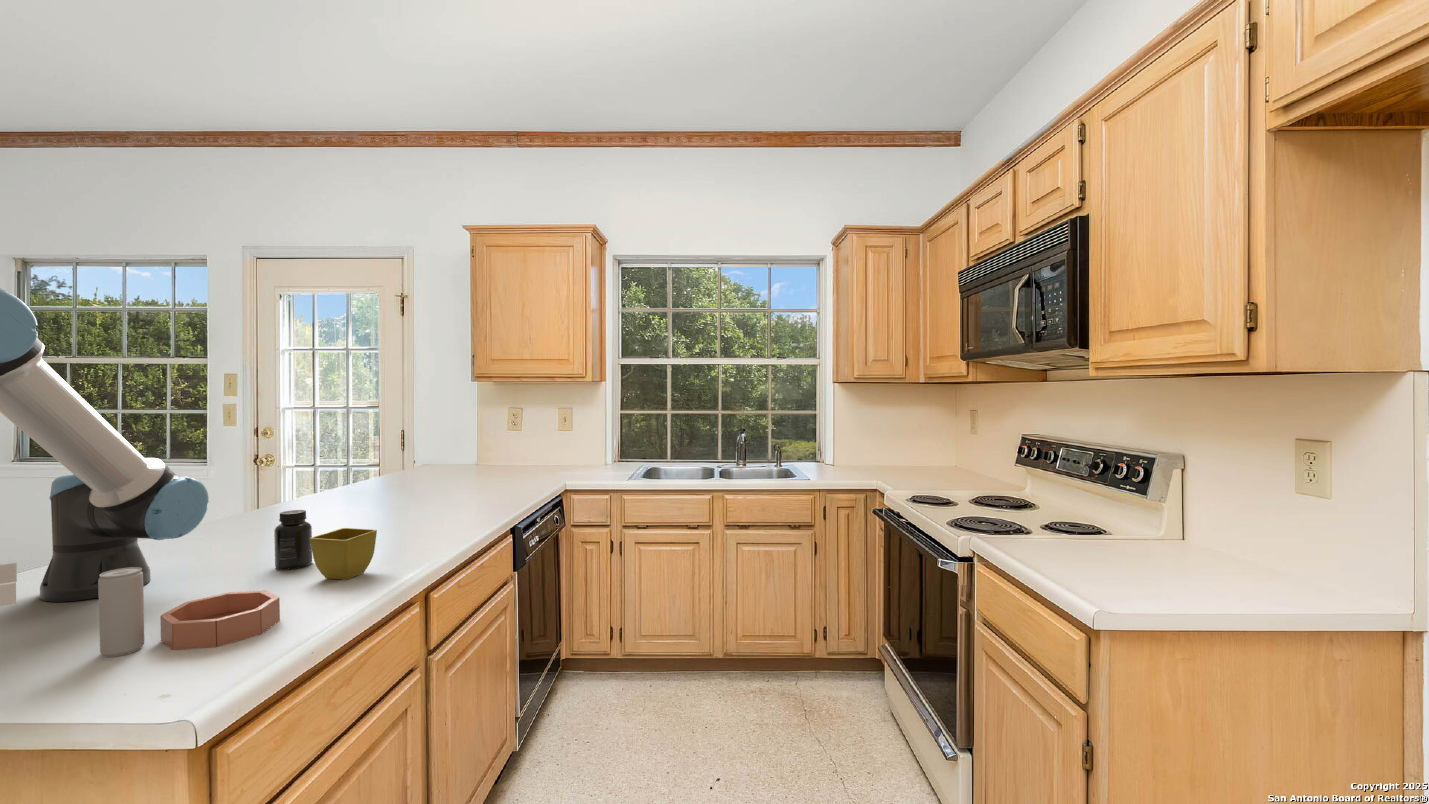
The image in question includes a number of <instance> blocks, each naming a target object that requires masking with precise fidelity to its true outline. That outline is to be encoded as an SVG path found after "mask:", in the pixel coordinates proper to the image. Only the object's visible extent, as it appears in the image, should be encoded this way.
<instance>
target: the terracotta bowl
mask: <svg viewBox="0 0 1429 804" xmlns="http://www.w3.org/2000/svg"><path fill="white" fill-rule="evenodd" d="M280 600H281V599H280V596H278V595H277V594H274V593H272V592H269V591H267V590H252V591H251V590H250V591H249V590H247V591H235V592H234V591H233V592H232V591H230V592H224V593H220V594H216V595H212V596H211V595H210V596H207V597H203V598H198V599H194V600H190V601H186V602H183V603H181V604H179V605H177V606H175V607H172V609H170V610H168V611H165V612H164V613H163V614H161V615H160V616H159V618H160V620H159V621H160V623H159V624H160V625H159V626H160V641H162V644H164V645H166V646H167V647H168V648H169V649H171V650H172V651H178V650H193V649H207V648H217V647H221V646H224V645H229V644H232V643H235V642H239V641H243V640H245V639H250V638H253V637H256V635H257V636H261V635H262V634H264V633H265V632H266V631H268V630H269V629H270V628H272V627H273V626H275V625H276V624H277V623H279V622H280V621H281V619H280V618H281V611H280V610H281V608H280V607H281V606H280ZM279 620H280V621H279ZM278 621H279V622H278ZM275 623H276V624H275ZM274 624H275V625H274ZM271 626H272V627H271ZM267 629H268V630H267ZM263 632H264V633H263Z"/></svg>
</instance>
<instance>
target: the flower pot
mask: <svg viewBox="0 0 1429 804" xmlns="http://www.w3.org/2000/svg"><path fill="white" fill-rule="evenodd" d="M377 532H378V530H377V529H369V528H368V529H367V528H352V527H342V528H339V529H336V530H332V531H329V532H325V533H322V534H318V535H314V536H312V538H310V542H311V548H312V559H313V562H314V564H315V566H316V568H317V569H318V572H320V574H321V575H322V576H323V577H324V578H325V579H331V580H344V581H346V580H349V579H351V578H354V577H357V576H358V575H361V574H363V573H365V572H366V570H367V569H368V567H369V565H370V563H371V562H372V560H373V557H374V554H375V550H376V549H375V548H376V541H377V534H378V533H377Z"/></svg>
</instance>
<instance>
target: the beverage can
mask: <svg viewBox="0 0 1429 804" xmlns="http://www.w3.org/2000/svg"><path fill="white" fill-rule="evenodd" d="M141 570H142V568H139V567H129V568H121V569H115V570H110V571H107V572H104V573H101V574H100V575H99V577H100V578H99V580H98V595H99V597H98V623H99V624H98V626H99V629H98V630H99V631H98V632H99V653H100V655H102V656H103V657H107V658H113V657H115V658H116V657H120V656H126V655H129V654H133V653H135V652H137V651H139V650H140V649H142V648H143V646H144V645H145V600H144V596H145V595H144V585H143V572H141ZM132 652H133V653H132Z"/></svg>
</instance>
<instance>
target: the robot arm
mask: <svg viewBox="0 0 1429 804" xmlns="http://www.w3.org/2000/svg"><path fill="white" fill-rule="evenodd" d="M38 325H39V324H38V321H37V319H36V316H35V315H34V313H33V311H32V310H31V308H30V307H29V306H28V305H27V303H25V302H24V301H23V300H22V299H20V298H18V296H16V295H15V294H13V293H11V292H9V291H7V290H4V289H3V288H0V414H2V415H3V416H4V417H6V419H8V420H9V421H10V422H11V423H12V424H14V425H15V426H16V427H17V428H18V429H20V430H21V431H22V432H23V433H24V434H26V436H28V438H30V439H31V440H33V441H34V442H35V443H36V444H37V445H38V446H40V447H41V448H42V449H43V450H45V451H46V452H47V453H48V454H49V455H50V456H51V457H52V458H53V459H55V460H56V462H57V461H58V463H60V464H61V465H62V466H63V467H64V468H66V470H67V471H69V472H70V473H72V474H67V475H66V474H65V475H60V476H58V477H56V478H54V480H53V481H52V482H51V487H50V495H49V500H50V508H51V510H50V511H51V514H50V515H51V542H52V556H51V559H50V562H49V564H48V567H47V568H46V571H45V574H44V576H43V579H42V581H41V583H40V586H39V599H40V600H41V601H44V602H55V603H56V602H58V603H61V602H75V601H84V600H85V601H86V600H90V599H97V598H98V599H99V595H98V580H99V578H100V577H99V575H100V574H101V573H104V572H107V571H110V570H115V569H121V568H129V567H139V568H142V570H141V572H143V586H145V585H146V584H148V583H150V582H151V569H150V566H149V564H148V563H147V560H146V558H145V555H144V553H143V552H142V550H141V548H140V546H139V543H138V539H143V540H149V539H150V540H156V541H163V540H170V539H171V540H173V539H179V538H181V537H183V536H186V535H188V534H190V533H191V532H193V531H194V530H195V529H196V528H197V527H198V526H199V525H200V524H201V522H202V521H203V519H204V518H205V516H206V514H207V512H208V504H209V502H210V501H209V500H210V499H209V493H208V489H207V487H205V485H204V483H202V482H201V481H200V480H198V479H196V478H193V477H191V476H179V475H177V474H176V473H175V472H174V471H173V470H172V469H171V468H170V467H169V466H168V465H167V464H166V463H165V462H164V461H163V460H161V459H160V458H156V457H145V456H143V455H142V454H141V453H140V452H139V451H138V450H137V449H136V448H135V447H134V446H133V445H132V444H131V443H130V442H128V440H126V438H125V437H124V436H122V434H120V433H119V431H117V430H116V429H115V428H114V427H113V426H112V425H111V424H110V423H109V422H108V421H107V420H106V419H105V418H104V417H102V415H101V414H99V413H98V412H97V411H96V410H95V408H94V407H93V406H91V405H90V404H89V402H87V400H85V398H83V397H82V396H81V395H80V394H79V393H78V392H77V391H76V390H75V389H74V388H73V387H71V386H70V385H69V384H68V382H66V380H64V379H63V378H62V377H61V376H60V375H59V374H58V373H57V372H56V371H55V370H54V369H53V368H52V367H51V366H50V365H49V364H48V363H47V362H46V361H44V359H43V358H42V357H43V354H44V352H45V351H44V350H45V347H46V346H45V345H44V343H43V342H42V341H41V340H40V339H39V338H38V337H39V332H38V331H37V329H36V327H38ZM17 565H18V564H17V561H15V562H14V561H13V562H7V563H6V562H5V563H2V564H1V563H0V607H4V606H10V605H17V581H18V579H17V575H18V574H17V573H18V572H17Z"/></svg>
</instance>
